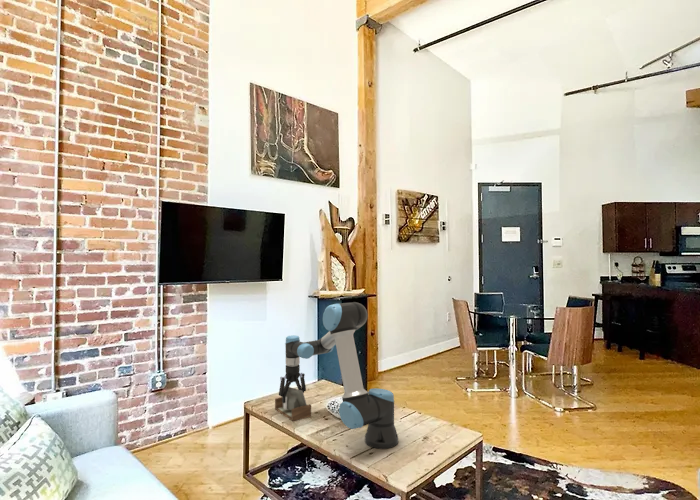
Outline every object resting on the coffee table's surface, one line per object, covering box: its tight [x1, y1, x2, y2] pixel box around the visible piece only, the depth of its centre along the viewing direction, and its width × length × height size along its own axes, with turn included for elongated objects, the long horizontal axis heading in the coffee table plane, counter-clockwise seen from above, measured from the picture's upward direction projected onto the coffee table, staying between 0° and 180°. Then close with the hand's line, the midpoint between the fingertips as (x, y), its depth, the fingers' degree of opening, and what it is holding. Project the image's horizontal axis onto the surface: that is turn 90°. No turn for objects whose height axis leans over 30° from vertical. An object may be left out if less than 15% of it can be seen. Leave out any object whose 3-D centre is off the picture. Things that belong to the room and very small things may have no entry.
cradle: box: [274, 396, 312, 422], centre depth 222 cm, size 20×11×6 cm, turn 36°
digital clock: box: [283, 385, 308, 410], centre depth 222 cm, size 16×9×11 cm, turn 41°
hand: (292, 406), depth 222 cm, fingers closed on digital clock, 8 cm apart
